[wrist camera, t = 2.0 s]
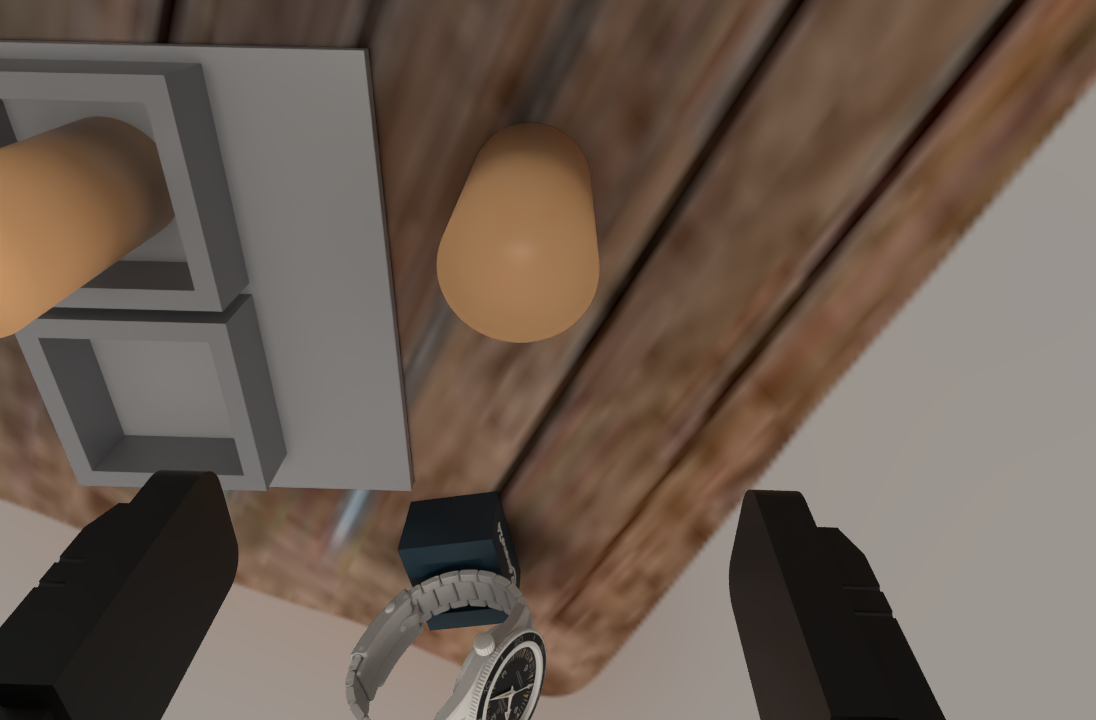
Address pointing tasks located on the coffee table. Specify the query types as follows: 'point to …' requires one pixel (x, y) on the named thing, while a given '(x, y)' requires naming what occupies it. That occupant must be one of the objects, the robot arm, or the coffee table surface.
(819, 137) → the coffee table surface
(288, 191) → the housing
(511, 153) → the orange peg
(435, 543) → the watch
